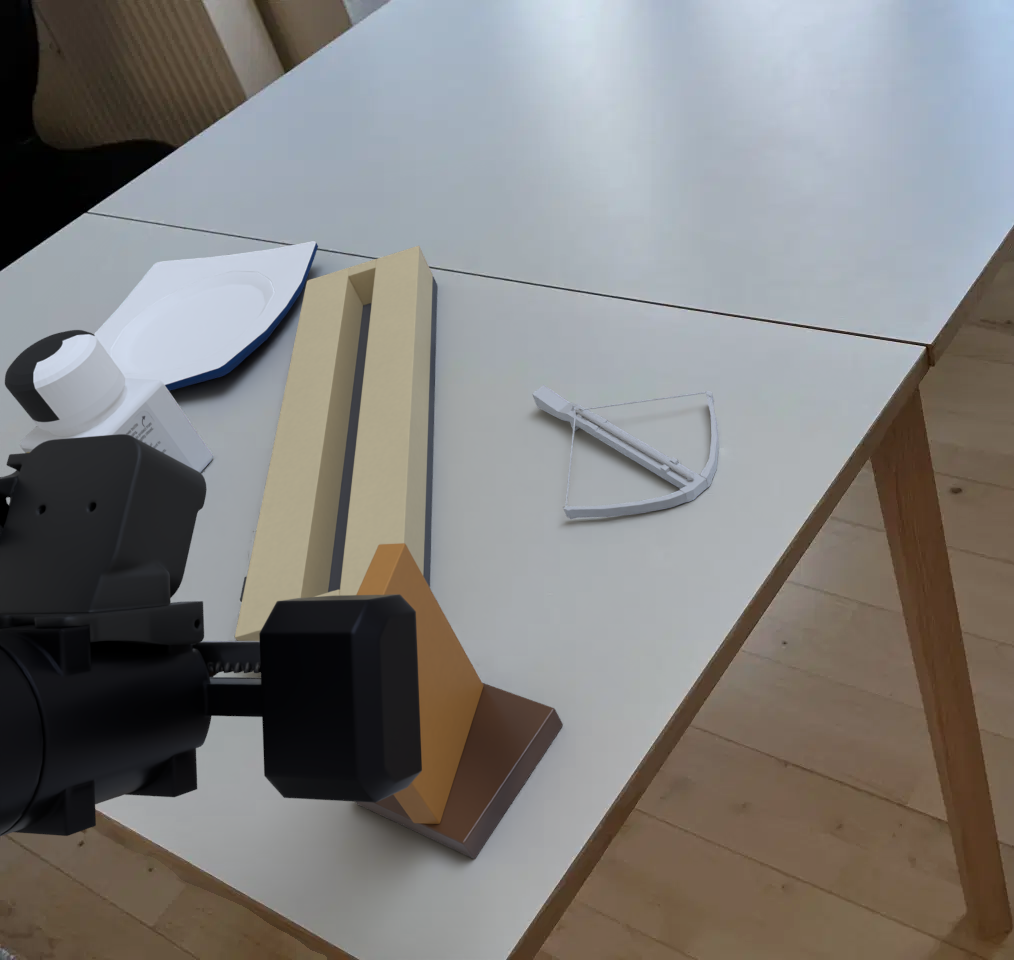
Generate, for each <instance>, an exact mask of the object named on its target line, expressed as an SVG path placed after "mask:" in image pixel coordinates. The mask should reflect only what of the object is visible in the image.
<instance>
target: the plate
mask: <svg viewBox="0 0 1014 960" xmlns="http://www.w3.org/2000/svg"><path fill="white" fill-rule="evenodd" d="M318 248H319V245H318V243H317V242H316V241H315V240H312V241H307V242H301V243H296V244H290V245H285V246H279V247H274V248H268V249H262V250H254V251H247V252H240V253H232V254H223V255H215V256H207V257H206V256H205V257H196V258H195V257H194V258H183V259H173V260H172V259H171V260H163V261H157V262H155V263H153V265H152V266H151V267H150V269H149V270H147V272H146V273H145V274H144V275H143V277H142V278H141V279H140V281H139V282H138V283H137V284H136V285H135V287H134V288H133V289H132V290H131V291H130V292H129V294H128V295H127V296H126V298H125V299H124V300H123V301H122V302H121V304H120V305H119V306H118V307H117V308H116V309H115V310H114V311H113V313H112V314H111V315H110V316H109V317H108V318H107V319H106V320H105V321H104V323H103V324H101V326H100V327H99V328H98V329H97V330H96V331H95V332H94V333H93V334H94V335H95V336H96V338H97V339H98V340H99V342H100V343H101V345H102V346H103V347H104V349H105V350H106V352H107V353H108V354H109V356H110V357H111V358H112V360H113V361H114V363H115V364H116V365H117V367H118V368H119V370H120V371H121V372H122V374H123V375H124V377H125V378H134V379H152V380H160V381H162V382H163V383H164V385H165V386H166V388H167V389H168V390H169V392H170V391H173V390H177V389H181V388H185V387H189V386H192V385H195V384H199V383H203V382H206V381H210V380H214V379H218V378H221V377H224V376H226V375H228V374H230V373H231V372H232V371H233V370H235V368H237V367H238V366H239V365H240V364H241V363H242V362H243V361H244V360H245V359H246V358H248V357H249V356H250V355H251V354H252V353H254V351H256V350H257V349H258V348H259V347H260V346H261V345H262V344H263V343H264V342H266V341H267V340H268V338H269V337H271V334H273V332H274V331H275V329H276V328H277V327H278V326H279V324H280V323H281V322H282V321H283V320H284V318H285V317H286V316H287V314H288V313H289V311H290V310H291V308H292V307H293V305H294V304H295V302H296V301H297V299H298V298H299V296H300V295H301V293H302V292H303V291H304V287H305V286H306V283H307V280H308V276H309V274H310V271H311V269H312V265H313V263H314V260H315V258H316V255H317V251H318Z"/></svg>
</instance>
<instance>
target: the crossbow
mask: <svg viewBox="0 0 1014 960" xmlns="http://www.w3.org/2000/svg"><path fill="white" fill-rule="evenodd" d="M704 394H705V395H706V400H707V405H708V409H709V414H710V433H711V434H710V436H711V439H710V448H709V457H708V460H707V462H706V464H705V466H704V468H703V469H702V470H701V472H700V474H699V473H697V472H696V471H694V470H692V469H691V468H688V467H687V466H685V465H684V464H682V463H680V461H679V459H678V458H676V457H674V456H672V457H670V456H668V455H667V454H665V453H663V452H661V450H658V449H656V448H654V447H653V446H651V445H650V444H647V443H646V442H644V441H642V440H641V439H639V438H638V437H636V436H634V435H632V434H630V433H629V432H627V431H625V429H622V428H620V427H619V426H617V425H615V424H614V423H612V422H610V421H608V419H606V418H605V417H603V416H601V415H600V414H596V413H595V412H593V411H591V410H595V409H603V408H609V407H615V406H623V405H624V406H625V405H630V404H632V405H633V404H637V403H644V402H645V403H646V402H653V401H660V400H668V399H674V398H681V397H688V396H696V395H704ZM531 395H532V399H533V400H534V403H535V405H536V407H537V408H538V409H539V410H541V411H543V412H545V413H547V414H549V415H551V416H553V417H555V418H557V419H559V420H561V421H565V422H569V424H570V426H571V428H572V436H571V437H572V438H571V445H570V446H571V447H570V454H569V455H570V457H569V465H568V466H569V467H568V475H567V484H566V495H565V505H564V506H562V509H563V511H564V514H565V516H566V517H567V518H568V519H570V520H573V519H581V518H582V519H583V518H609V517H620V516H629V515H638V514H644V513H650V512H655V511H661V510H665V509H671V508H674V507H677V506H679V505H683V504H685V503H689V502H692V501H694V500H696V499H697V497H698V496H699V495H701V494H702V493H703V492H704V491H705V490H706V489H707V488H710V486H711V485H712V483H713V478H714V477H715V474H716V472H717V469H718V460H719V459H718V458H719V449H720V447H719V429H718V428H719V427H718V425H719V424H718V420H717V417H716V413H715V407H714V404H715V399H714V395H713V392H712V391H710V390H708V389H706V390H705V391H699V392H692V393H686V394H685V393H684V394H679V395H678V394H677V395H672V396H670V395H669V396H664V397H657V398H649V399H642V400H636V401H635V400H634V401H628V402H621V403H613V404H606V405H599V406H592V407H584V406H582V405H581V404H579V403H575V402H570V401H568V400H567V399H566V398H564V397H563V396H561V395H560V394H559V393H557V392H556V391H554V390H553V389H551V388H550V387H548V386H547V385H545V384H543V385H542V386H540V387H539V388H538V389H536V390H535V391H534V392H532V393H531ZM579 429H581V430H583V431H584V432H586V433H587V434H589V435H591V436H593V437H594V438H595V439H597V440H599V441H601V442H602V443H604V444H606V445H607V446H609V447H610V448H612V449H614V450H616V451H617V452H619V453H621V454H622V455H623V456H625V457H627V458H629V459H630V460H632V461H633V462H635V463H637V464H639V465H640V466H642V467H643V468H645V469H647V470H648V471H650V472H651V473H654V474H655V475H657V476H658V477H659V478H661V479H663V480H665V481H666V482H668V483H670V484H671V485H673V486H675V487H677V488H678V489H679V490H676V491H674V492H672V493H669V494H665V495H663V496H656V497H651V498H647V499H641V500H636V501H628V502H620V503H619V502H618V503H610V504H601V505H571V506H570V505H568V499H569V491H570V490H569V489H570V481H571V471H572V461H573V451H574V440H575V432H577V431H578V430H579Z"/></svg>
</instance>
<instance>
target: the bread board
mask: <svg viewBox="0 0 1014 960" xmlns="http://www.w3.org/2000/svg"><path fill="white" fill-rule="evenodd" d="M482 683H483V689H482V692H481V695H480V699H479V702H478V705H477V708H476V711H475V714H474V717H473V721H472V724H471V727H470V730H469V733H468V736H467V739H466V743H465V746H464V749H463V752H462V755H461V758H460V762H459V765H458V768H457V771H456V774H455V777H454V780H453V784H452V787H451V790H450V793H449V796H448V799H447V802H446V806H445V809H444V812H443V815H442V818H441V821H440V824H425V823H413V821H412V820H411V818H410V817H409V816H408V814H407V813H406V811H405V810H404V809H403V807H402V806H401V804H400V803H399V802H398V800H397V799H396V798H395V796H394V795H391V796H389V797H386V798H384V799H382V800H380V801H378V802H376V803H374V802H355V804H357V805H358V806H360V807H362V808H365V809H366V810H368V811H370V812H373V813H375V814H377V815H379V816H381V817H383V818H386V819H388V820H390V821H392V822H394V823H396V824H398V825H401V826H402V827H404V828H407V829H409V830H411V831H414V832H415V833H418V834H419V835H422V836H424V837H426V838H428V839H431V840H432V841H434V842H437V843H439V844H440V845H443V846H445V847H447V848H449V849H452V850H454V851H455V852H458V853H460V854H461V855H465V856H466V857H469V858H471V859H476V857H477V856H478V855H479V853H480V852H481V850H482V848H483V847H484V845H485V844H486V842H487V841H488V839H489V838H490V837H491V835H492V834H493V832H494V830H496V827H497V826H498V824H499V823H500V821H501V820H502V818H503V816H504V815H505V814H506V812H507V811H508V809H509V808H510V806H511V805H512V803H513V801H514V800H515V799H516V797H517V795H518V794H519V792H520V791H521V789H522V788H523V786H524V785H525V783H527V780H528V779H529V778H530V776H531V774H532V773H533V771H534V770H535V768H536V767H537V765H538V764H539V762H540V761H541V760H542V758H543V756H544V755H545V754H546V751H547V750H548V749H549V747H550V746H551V744H552V743H553V741H554V740H555V738H556V736H557V735H558V734H559V732H560V730H561V729H562V727H563V725H564V724H563V721H562V720H561V718H560V716H559V714H558V712H557V711H556V709H555V707H552V706H549V705H547V704H543V703H541V702H538V701H535V700H533V699H529V698H526V697H524V696H521V695H518V694H515V693H512V692H509V691H507V690H504V689H502V688H498V687H496V686H492V685H490V684H488V683H485V682H482Z"/></svg>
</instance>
